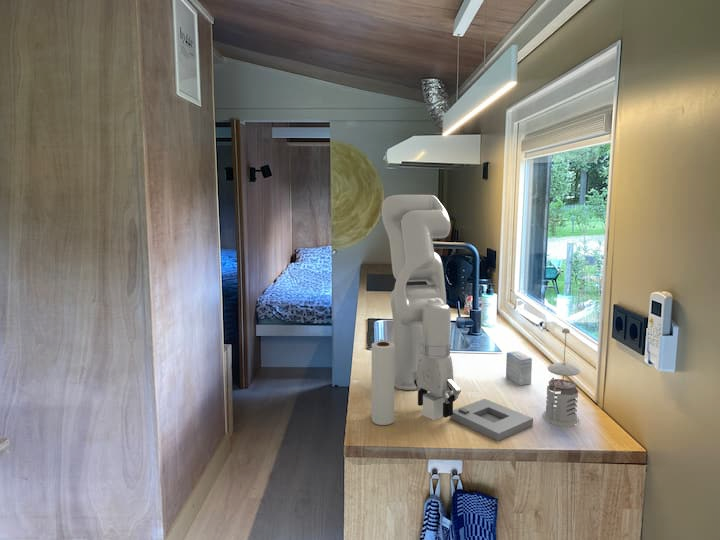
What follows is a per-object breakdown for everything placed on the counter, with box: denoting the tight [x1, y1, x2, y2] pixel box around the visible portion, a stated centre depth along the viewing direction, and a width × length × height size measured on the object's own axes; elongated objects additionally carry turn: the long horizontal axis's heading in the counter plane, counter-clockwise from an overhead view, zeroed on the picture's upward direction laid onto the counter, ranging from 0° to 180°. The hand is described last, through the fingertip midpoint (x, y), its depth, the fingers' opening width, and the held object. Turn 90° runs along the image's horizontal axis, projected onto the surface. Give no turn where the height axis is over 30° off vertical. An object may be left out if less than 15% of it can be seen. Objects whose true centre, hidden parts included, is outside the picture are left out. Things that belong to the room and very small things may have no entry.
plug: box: [422, 391, 445, 421], centre depth 138 cm, size 4×5×6 cm
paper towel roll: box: [371, 339, 395, 426], centre depth 134 cm, size 7×6×21 cm
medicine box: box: [505, 350, 533, 386], centre depth 163 cm, size 8×4×9 cm, turn 16°
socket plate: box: [449, 398, 534, 442], centre depth 134 cm, size 16×14×3 cm
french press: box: [541, 327, 581, 427], centre depth 134 cm, size 10×12×25 cm
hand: (434, 410), depth 138 cm, fingers open, 9 cm apart
